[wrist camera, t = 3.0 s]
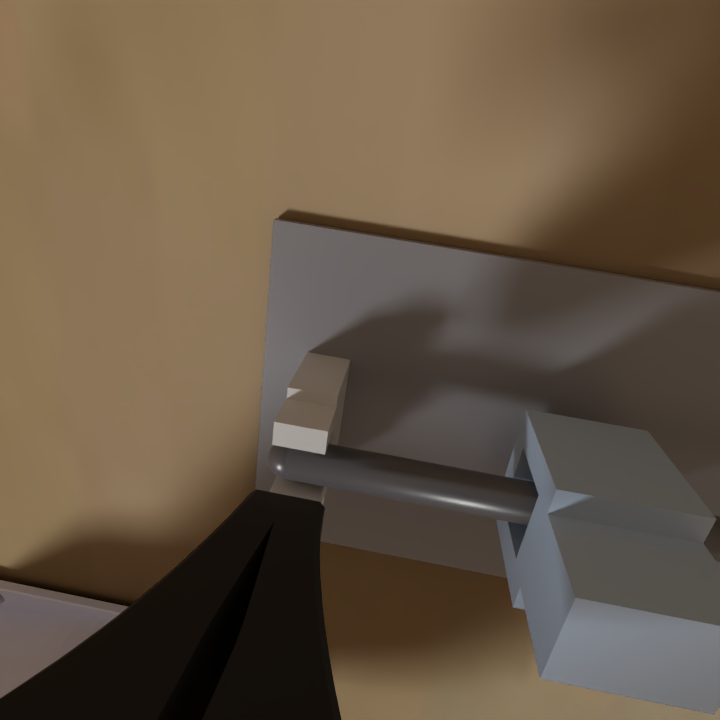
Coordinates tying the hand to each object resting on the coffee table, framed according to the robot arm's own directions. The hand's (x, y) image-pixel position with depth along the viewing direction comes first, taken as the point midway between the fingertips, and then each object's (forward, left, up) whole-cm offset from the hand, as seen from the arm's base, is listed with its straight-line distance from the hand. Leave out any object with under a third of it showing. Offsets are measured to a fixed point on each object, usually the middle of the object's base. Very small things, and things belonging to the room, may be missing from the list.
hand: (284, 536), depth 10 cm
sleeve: (+6, 0, -4) cm, 8 cm away
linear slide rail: (+8, 0, -6) cm, 10 cm away
